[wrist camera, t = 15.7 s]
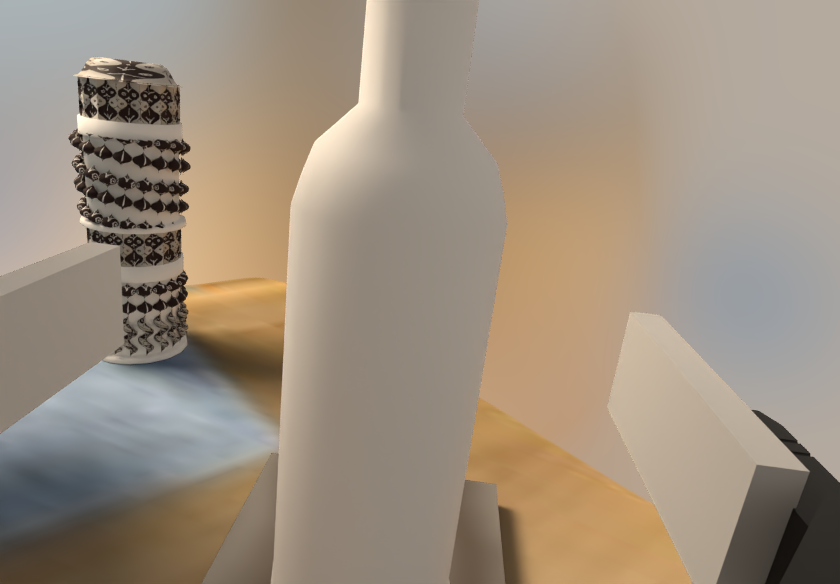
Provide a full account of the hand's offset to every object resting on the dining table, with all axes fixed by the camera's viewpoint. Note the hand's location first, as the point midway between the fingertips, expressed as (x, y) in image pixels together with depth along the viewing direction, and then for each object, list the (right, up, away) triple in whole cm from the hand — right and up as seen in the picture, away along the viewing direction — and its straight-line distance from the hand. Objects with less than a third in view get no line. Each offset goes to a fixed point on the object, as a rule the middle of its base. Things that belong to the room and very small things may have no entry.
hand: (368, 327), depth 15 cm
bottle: (-2, -15, +12) cm, 19 cm away
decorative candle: (-25, -4, +40) cm, 48 cm away
